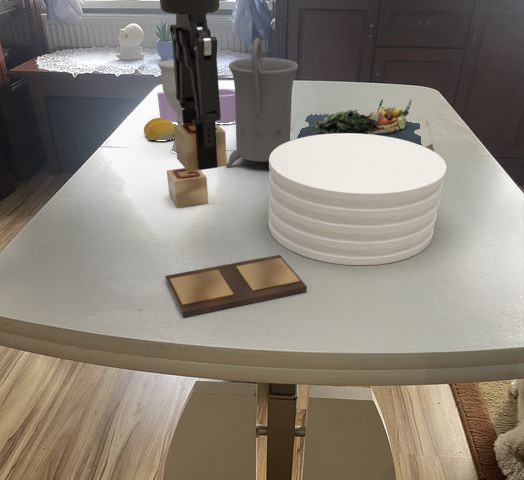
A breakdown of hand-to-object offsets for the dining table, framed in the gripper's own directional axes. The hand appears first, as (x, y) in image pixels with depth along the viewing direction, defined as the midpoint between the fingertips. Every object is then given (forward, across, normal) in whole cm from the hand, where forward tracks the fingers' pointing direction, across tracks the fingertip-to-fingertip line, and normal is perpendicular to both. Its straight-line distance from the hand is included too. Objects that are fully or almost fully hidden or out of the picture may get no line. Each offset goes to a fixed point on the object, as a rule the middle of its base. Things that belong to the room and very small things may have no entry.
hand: (201, 160), depth 82 cm
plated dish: (+13, +43, -54) cm, 71 cm away
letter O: (0, 0, 0) cm, 0 cm away
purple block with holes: (+13, +68, -20) cm, 72 cm away
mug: (+13, +30, -22) cm, 40 cm away
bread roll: (+13, +57, -7) cm, 59 cm away
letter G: (+13, +18, -2) cm, 22 cm away
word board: (+13, -16, +1) cm, 20 cm away
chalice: (+13, +45, -8) cm, 48 cm away
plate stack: (+13, -4, -24) cm, 28 cm away
